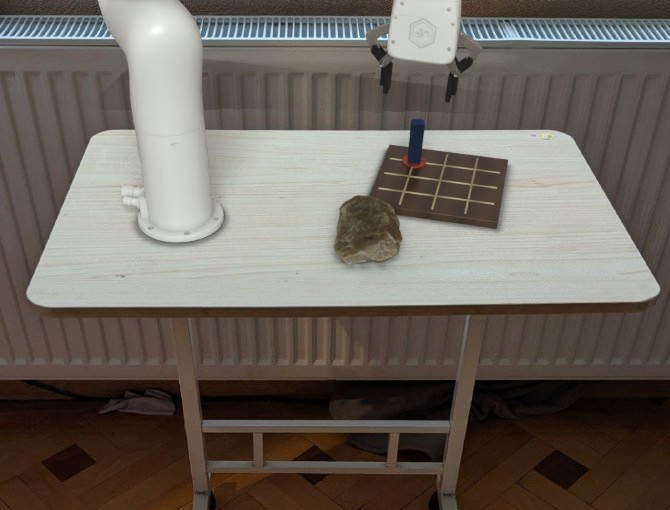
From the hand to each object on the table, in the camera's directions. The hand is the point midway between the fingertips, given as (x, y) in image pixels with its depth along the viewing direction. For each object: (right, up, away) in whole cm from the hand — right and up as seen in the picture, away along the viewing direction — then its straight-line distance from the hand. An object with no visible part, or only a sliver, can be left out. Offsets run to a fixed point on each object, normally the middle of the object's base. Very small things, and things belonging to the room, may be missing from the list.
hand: (417, 94), depth 128 cm
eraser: (0, -8, +8) cm, 11 cm away
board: (+4, -13, +5) cm, 14 cm away
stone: (-8, -25, -8) cm, 28 cm away
